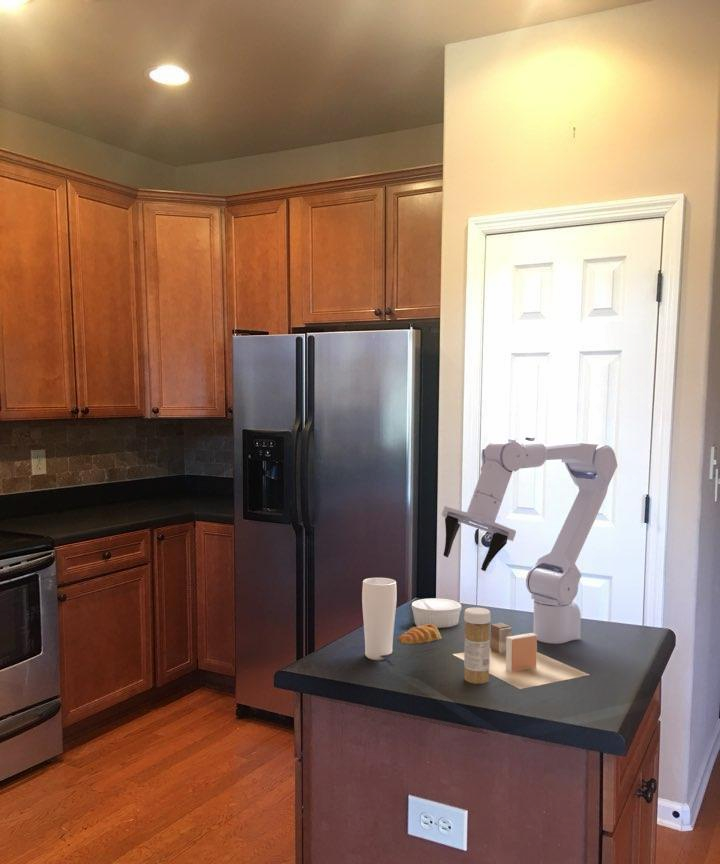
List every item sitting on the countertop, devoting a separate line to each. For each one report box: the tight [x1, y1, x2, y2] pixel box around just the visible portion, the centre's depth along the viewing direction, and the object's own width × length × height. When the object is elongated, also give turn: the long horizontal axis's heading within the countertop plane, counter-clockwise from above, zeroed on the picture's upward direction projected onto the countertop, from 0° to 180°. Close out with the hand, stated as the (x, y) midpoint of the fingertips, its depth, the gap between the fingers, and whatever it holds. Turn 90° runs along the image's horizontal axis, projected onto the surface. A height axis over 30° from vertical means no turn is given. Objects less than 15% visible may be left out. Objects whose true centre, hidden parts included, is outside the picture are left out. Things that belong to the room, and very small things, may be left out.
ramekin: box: [411, 597, 462, 629], centre depth 161 cm, size 11×11×5 cm
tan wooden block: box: [490, 622, 513, 654], centre depth 140 cm, size 3×3×5 cm
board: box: [452, 647, 590, 690], centre depth 133 cm, size 16×20×1 cm
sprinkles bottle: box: [463, 607, 492, 685], centre depth 125 cm, size 5×5×13 cm
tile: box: [506, 632, 538, 672], centre depth 130 cm, size 6×2×6 cm, turn 117°
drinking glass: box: [361, 577, 398, 661], centre depth 140 cm, size 7×7×15 cm
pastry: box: [397, 624, 443, 645], centre depth 148 cm, size 9×7×4 cm
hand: (464, 563), depth 137 cm, fingers open, 7 cm apart
